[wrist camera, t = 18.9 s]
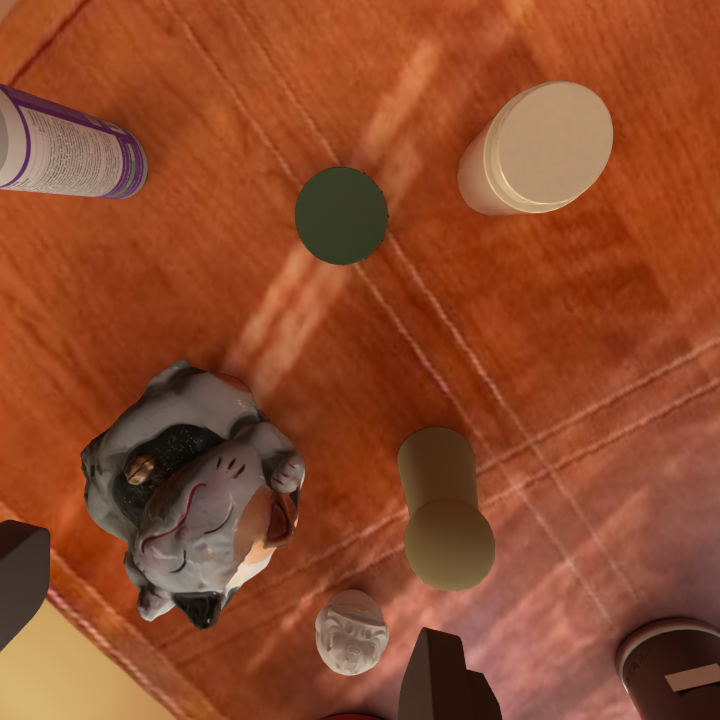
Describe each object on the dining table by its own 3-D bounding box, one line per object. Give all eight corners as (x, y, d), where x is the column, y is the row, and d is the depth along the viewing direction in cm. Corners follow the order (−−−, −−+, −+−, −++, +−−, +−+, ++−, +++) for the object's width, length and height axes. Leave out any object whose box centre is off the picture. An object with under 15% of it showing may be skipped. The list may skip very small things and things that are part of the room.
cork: (434, 411, 33) (451, 498, 22) (491, 460, 34) (533, 566, 23) (381, 462, 35) (374, 566, 24) (436, 507, 35) (453, 627, 25)
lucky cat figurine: (210, 326, 32) (242, 430, 21) (304, 418, 39) (366, 535, 28) (48, 456, 32) (-12, 637, 20) (172, 527, 38) (180, 692, 27)
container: (67, 154, 29) (-243, 89, 15) (113, 107, 28) (-173, -10, 14) (115, 213, 30) (-134, 205, 16) (162, 170, 29) (-61, 120, 15)
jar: (552, 139, 27) (643, 89, 17) (524, 224, 28) (591, 225, 19) (471, 118, 27) (514, 57, 17) (446, 205, 29) (473, 195, 19)
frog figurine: (399, 576, 38) (400, 651, 31) (376, 633, 40) (373, 715, 33) (332, 556, 38) (318, 627, 31) (313, 615, 40) (296, 693, 33)
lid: (293, 251, 30) (287, 252, 29) (309, 160, 28) (304, 156, 27) (375, 271, 30) (374, 274, 29) (397, 182, 28) (397, 180, 27)
